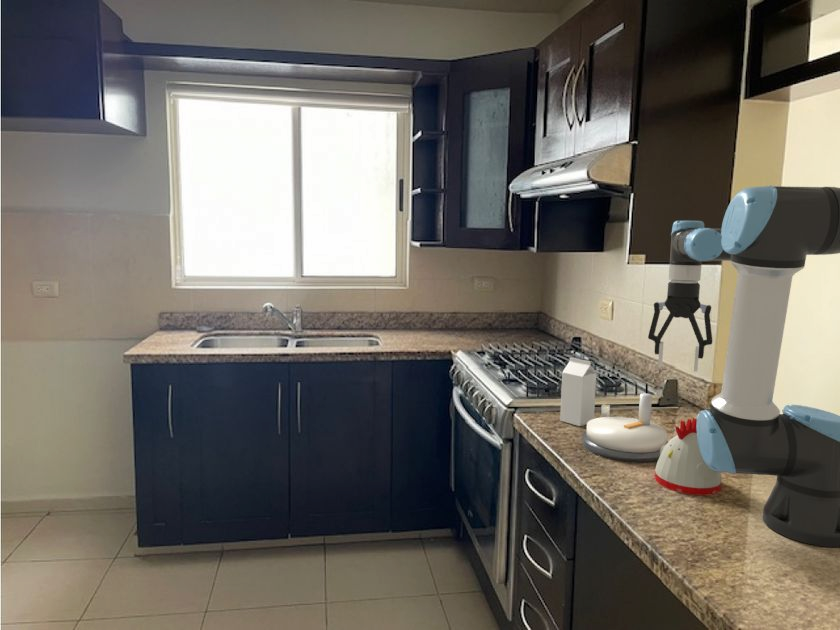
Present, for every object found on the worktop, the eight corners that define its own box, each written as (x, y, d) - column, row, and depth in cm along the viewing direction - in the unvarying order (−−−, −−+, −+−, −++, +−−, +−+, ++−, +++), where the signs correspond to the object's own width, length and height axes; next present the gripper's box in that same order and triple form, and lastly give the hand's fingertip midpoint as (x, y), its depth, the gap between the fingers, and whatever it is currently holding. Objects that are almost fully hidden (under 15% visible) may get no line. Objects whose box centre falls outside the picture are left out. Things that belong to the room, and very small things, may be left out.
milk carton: (580, 427, 178) (583, 363, 176) (559, 421, 183) (562, 358, 181) (593, 422, 183) (597, 359, 180) (573, 416, 188) (576, 355, 186)
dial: (633, 458, 148) (635, 414, 146) (570, 434, 164) (572, 395, 163) (682, 443, 159) (685, 402, 157) (618, 422, 175) (621, 385, 174)
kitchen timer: (641, 474, 144) (646, 412, 142) (688, 467, 149) (692, 407, 147) (685, 499, 131) (691, 431, 129) (735, 490, 136) (741, 425, 134)
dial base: (665, 469, 147) (668, 440, 146) (573, 453, 157) (575, 426, 156) (673, 438, 170) (675, 413, 169) (592, 426, 179) (593, 402, 178)
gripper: (729, 282, 156) (721, 370, 159) (643, 278, 165) (637, 361, 168) (729, 284, 149) (721, 376, 152) (639, 280, 158) (633, 366, 161)
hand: (677, 368), depth 160 cm, fingers open, 8 cm apart
